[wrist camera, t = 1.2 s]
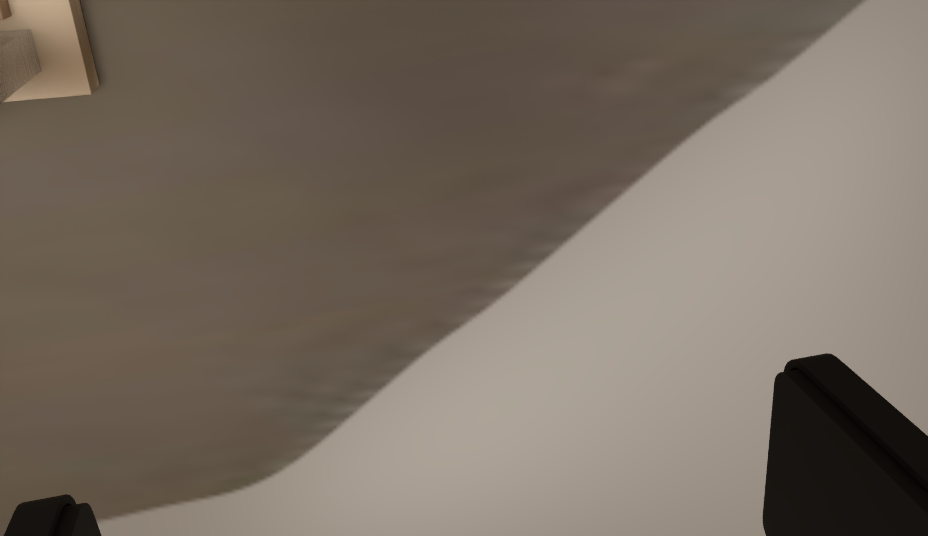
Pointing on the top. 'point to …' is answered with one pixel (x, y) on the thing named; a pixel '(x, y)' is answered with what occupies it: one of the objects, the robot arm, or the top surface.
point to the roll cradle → (44, 50)
